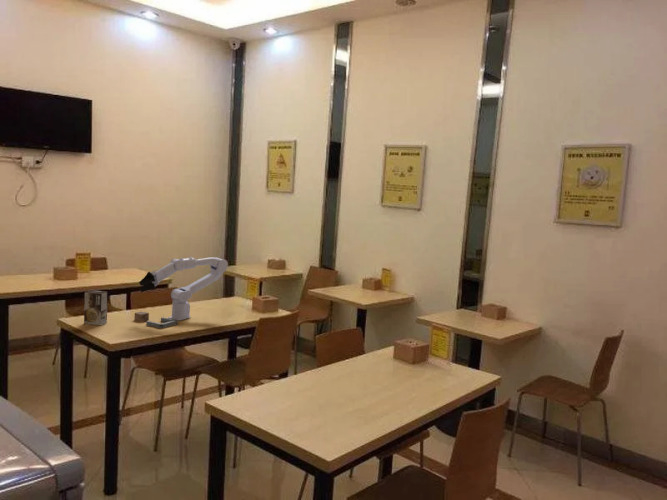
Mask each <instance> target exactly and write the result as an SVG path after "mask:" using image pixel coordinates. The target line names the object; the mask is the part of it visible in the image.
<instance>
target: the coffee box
mask: <svg viewBox="0 0 667 500" xmlns="http://www.w3.org/2000/svg"><path fill="white" fill-rule="evenodd" d="M108 293H109V291H104V290H103V291H102V290H94V289H93V290H88V291H85V292H84V305H83V306H84V309H83V310H84V313H83V324H84V325H85V324H86V325H93V326H94V325H95V326H102V325H105V324H107V323H108V300H109V299H108V298H109V297H108Z"/></svg>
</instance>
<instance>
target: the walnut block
mask: <svg viewBox="0 0 667 500" xmlns="http://www.w3.org/2000/svg"><path fill="white" fill-rule="evenodd" d="M149 314H150V312H146V311H137V312H134V321H137V322H141V323H142V322H146V321H150V320H149V317H150V315H149Z"/></svg>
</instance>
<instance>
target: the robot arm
mask: <svg viewBox="0 0 667 500" xmlns="http://www.w3.org/2000/svg"><path fill="white" fill-rule="evenodd" d="M206 265H208V266H209V267H210V272H209V273H208V274H206V275H204V276H203V277H201V278H199V279H197V280H195V281H194V282H192V283H190V284H188V285H186V286H181V287H179V288H174V289H173V290H172V291H171V293H170V297H171V299H172V305H171V316H168V317H167V318H169V319H173V320H178V321H183V320H186V319H190V318H192V317H191V315H190V312H191V305H190V303H189V299H191V298H192V296H193V294H195V293H196V292H198V291H201V290H203V289H204V288H206V287H207V286H209V285H211V284H213V283H214V282H216V281H218V280H220V278H221V277H222V276H223V274H224V273H225V272H226V271H228V266H229V263H228V260H227V259H224V258H223V259H222V258H219V257H217V256H212V257H204V258H198V259H196V258H194V257H192V256H189V257H188V258H183V257H181V258H173V259H171V260H170V262H169V263H168V264H166V265H164V266H162V267H161V268H159V269H158V270H153V271H148V272H147V273H146V274H145V276H144V277H142V279H141V280H140V281H139V282H138V284H139V285H140V286H141V287H140V288H139V291H140V292H141V293H143V292H147V291H150V290H155V289H156V287H157V286H158V284H160V282H161V283H162V281H164V280H165V279H167V278H168V277H171V276H172V275H174V274H175V273H176V272H177V271H180V272H183V270H188V269H189V270H190V269H195V268H196V266H206Z"/></svg>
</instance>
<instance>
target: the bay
mask: <svg viewBox="0 0 667 500" xmlns="http://www.w3.org/2000/svg"><path fill="white" fill-rule="evenodd" d="M160 322H162V323H160ZM160 322H156V321H151V320H147V321H145V326H149V327H152V326H153V328H156V327H157V329H164V328H169V327H173V326H176V325H178V323H179V320H175V319H170V318H168V317H164V316H162V317H160Z"/></svg>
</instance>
